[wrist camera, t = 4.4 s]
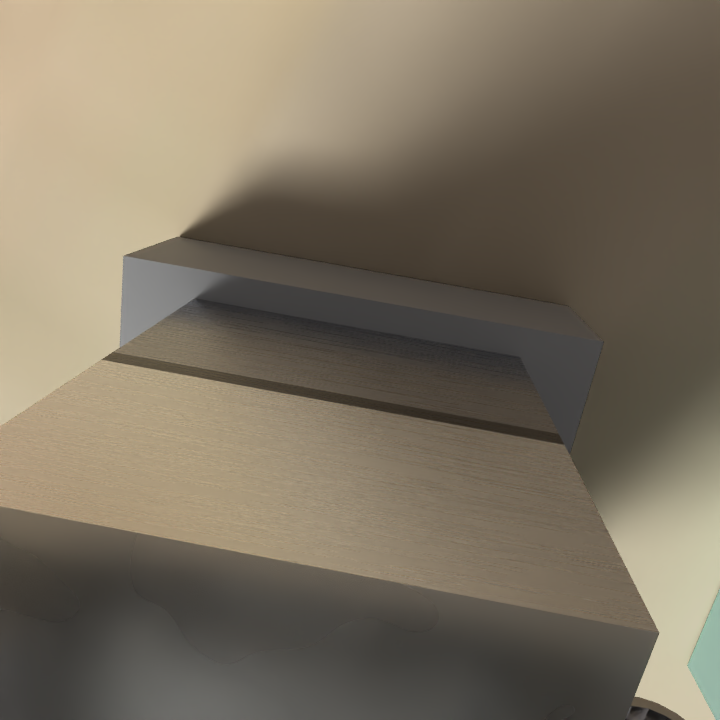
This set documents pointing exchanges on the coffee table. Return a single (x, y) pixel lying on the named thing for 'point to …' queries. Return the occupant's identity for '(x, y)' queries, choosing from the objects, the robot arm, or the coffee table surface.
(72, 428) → the block
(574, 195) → the coffee table surface
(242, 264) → the stand
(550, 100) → the coffee table surface
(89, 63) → the coffee table surface
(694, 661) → the stand
